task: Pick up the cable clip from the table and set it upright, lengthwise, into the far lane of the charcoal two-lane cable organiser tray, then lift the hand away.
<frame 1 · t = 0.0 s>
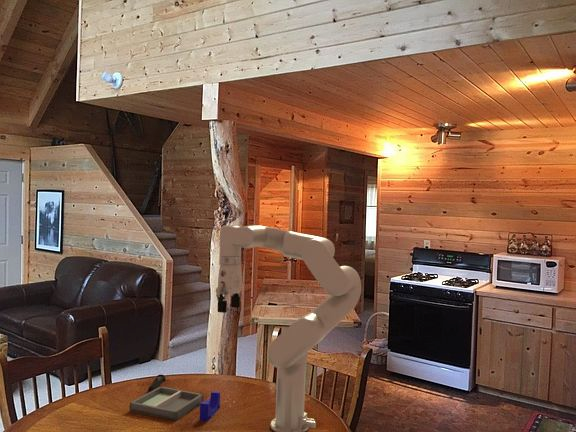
hand: (228, 309, 176), 37 cm above the table, tool pointing down, fingers open, 9 cm apart
organiser tray: (167, 406, 181), on the table
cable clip: (207, 414, 176), on the table
electric trimmer: (156, 387, 202), on the table
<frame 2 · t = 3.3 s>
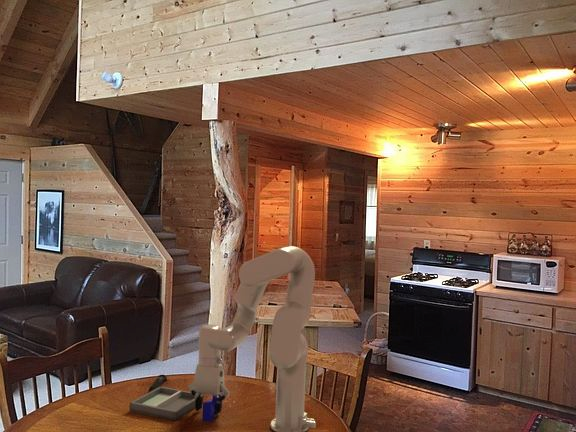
hand: (208, 411, 176), 1 cm above the table, tool pointing down, fingers open, 6 cm apart
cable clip: (210, 414, 176), on the table, touching gripper
everything else where it was.
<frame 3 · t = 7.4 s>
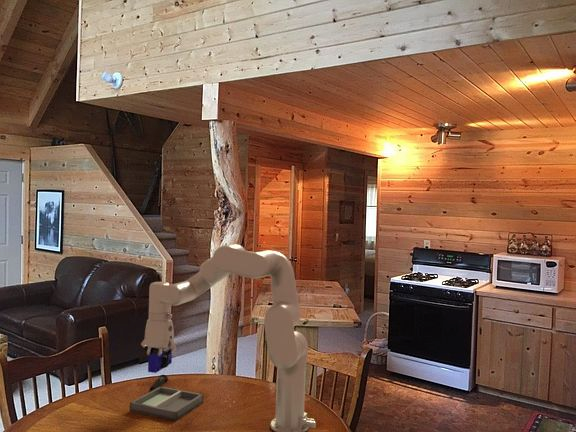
hand: (158, 365, 183), 14 cm above the table, tool pointing down, fingers closed on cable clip, 5 cm apart
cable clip: (158, 367, 183), point 13 cm above the table, touching gripper
everything else where it was.
when the fingers open (3 cm above the table, at t = 10.0 s): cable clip drops 2 cm, resting on organiser tray.
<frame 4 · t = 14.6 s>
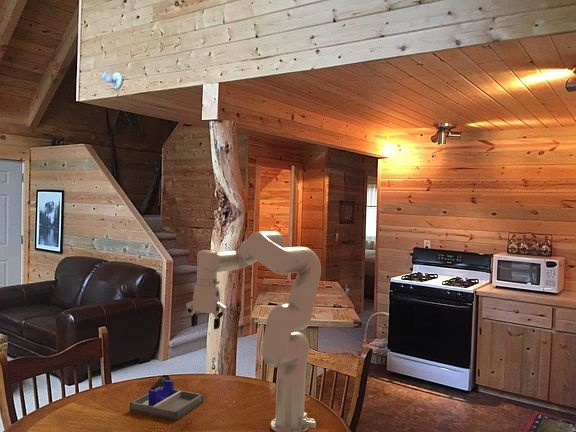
hand: (205, 327, 193), 26 cm above the table, tool pointing down, fingers open, 9 cm apart
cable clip: (159, 402, 183), point 1 cm above the table, touching organiser tray
at the end: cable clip inside the target area on the organiser tray (0.8 cm from its centre), point 0.9 cm above the organiser tray's base; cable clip tilted 0°; the gripper is holding nothing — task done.
